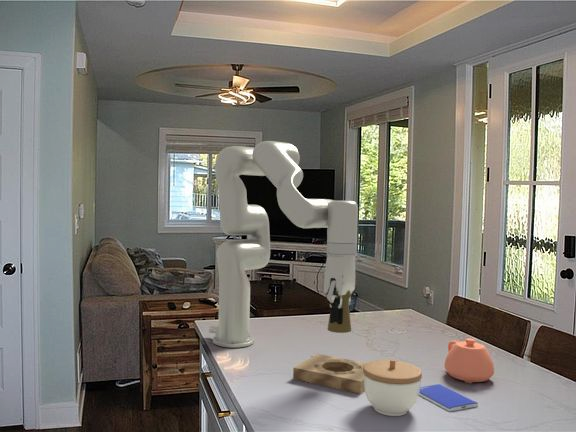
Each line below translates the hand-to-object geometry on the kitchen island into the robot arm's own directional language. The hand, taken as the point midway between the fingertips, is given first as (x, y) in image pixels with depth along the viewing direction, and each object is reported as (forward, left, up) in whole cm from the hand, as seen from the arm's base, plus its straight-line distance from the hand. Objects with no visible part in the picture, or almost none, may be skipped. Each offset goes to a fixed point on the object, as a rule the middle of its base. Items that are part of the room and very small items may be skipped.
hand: (339, 321), depth 139 cm
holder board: (0, 0, -15) cm, 15 cm away
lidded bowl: (+18, -12, -15) cm, 26 cm away
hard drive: (+27, +1, -16) cm, 31 cm away
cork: (0, 0, -2) cm, 2 cm away
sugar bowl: (+28, +20, -15) cm, 37 cm away
